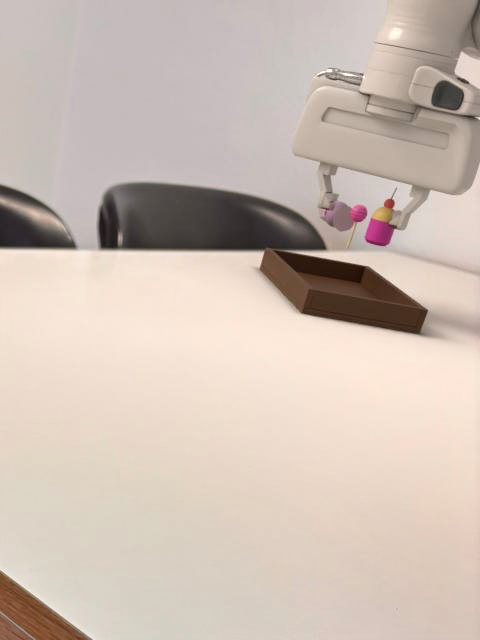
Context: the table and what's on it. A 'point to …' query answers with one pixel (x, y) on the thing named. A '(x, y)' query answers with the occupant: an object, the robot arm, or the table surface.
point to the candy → (349, 217)
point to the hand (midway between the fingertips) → (360, 219)
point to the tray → (342, 291)
